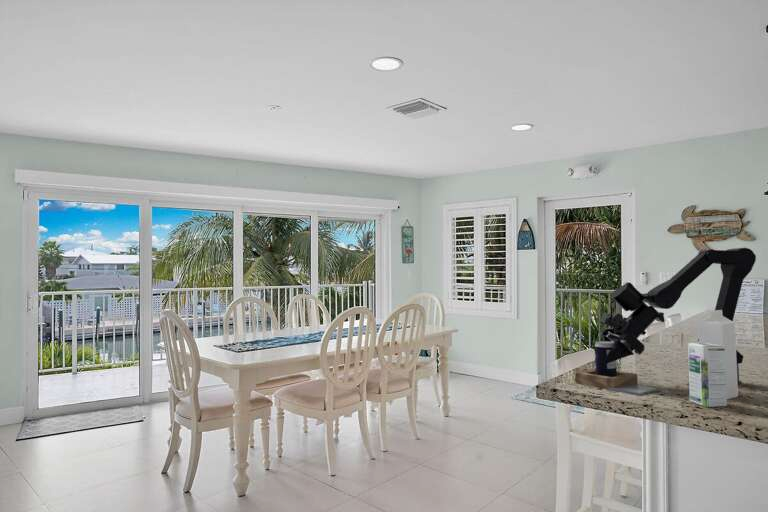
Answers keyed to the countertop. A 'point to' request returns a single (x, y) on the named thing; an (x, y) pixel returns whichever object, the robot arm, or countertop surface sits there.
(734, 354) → the milk
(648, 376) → the countertop surface
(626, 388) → the slate coaster
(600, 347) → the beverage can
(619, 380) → the walnut pocket block
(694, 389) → the syrup box
